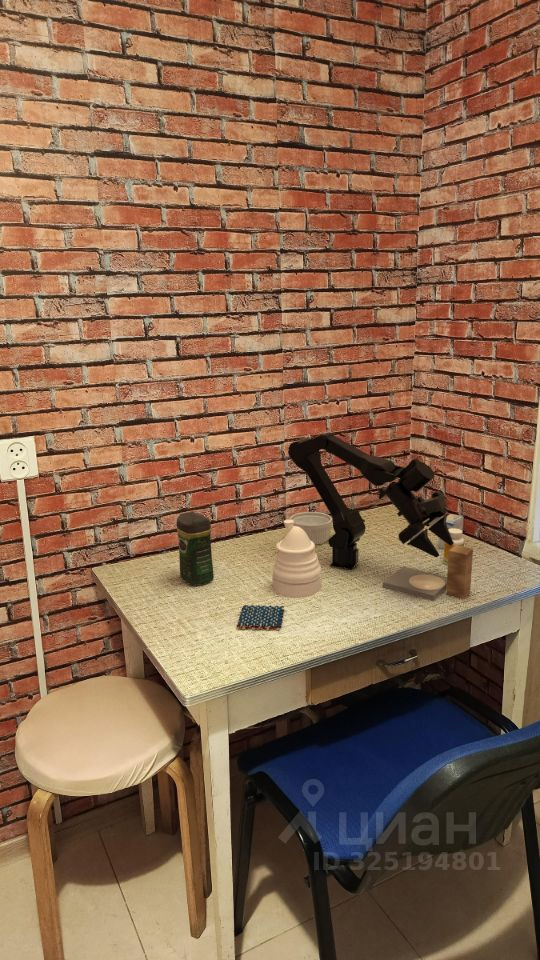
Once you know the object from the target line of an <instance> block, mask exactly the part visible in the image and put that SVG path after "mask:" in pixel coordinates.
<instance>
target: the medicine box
mask: <svg viewBox="0 0 540 960" xmlns="http://www.w3.org/2000/svg"><path fill="white" fill-rule="evenodd" d="M446 525H447V528H448V529H451V528H456V529H460V530H462V534H463V533H464V532H463V530H464V516H463V515H458V514H455V513H454V514H453V513H449V514H448V516H447V520H446ZM438 538H439V537H438ZM438 548H439V549H441V550H444V541H443V540H442V539H440V538H439V539H438Z"/></svg>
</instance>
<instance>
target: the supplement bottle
mask: <svg viewBox="0 0 540 960" xmlns="http://www.w3.org/2000/svg"><path fill="white" fill-rule="evenodd" d="M448 530H449V533H450V535H451V537H452V540H453V542H454V544H453V545H451V546H450V545H448V544H447V543H446V542H444V549H443V560H442V562H443V563H444V564H445V565H446V566H448V553H449V550H450V549H451V548H453V547H454V546H455V545H458V546H463V547H465V539H464V538H463V533H462V530H460V529H456V528H451V529H448Z"/></svg>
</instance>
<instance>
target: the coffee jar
mask: <svg viewBox="0 0 540 960" xmlns="http://www.w3.org/2000/svg"><path fill="white" fill-rule="evenodd" d="M176 532H177V537H178V551H179V552H178V553H179V559H178V560H179V577H180V579H182V581H183V582H184V583H187V584H188V585H189V586H197V585H198V586H199V585H200V586H202V585H206V584H209V583H210V582H212V581H213V580H214V578H215V577H214V574H215V573H214V564H213V555H212V554H213V553H212V552H213V551H212V541H211V539H212V538H211V536H212V535H211V533H212V526H211V520H210V518H209V517H207V516H204V515H202V514H200V513H198V512H195V511H193V510H192V511H188V512H183V513H180V514H179V515H178V516H177V519H176Z"/></svg>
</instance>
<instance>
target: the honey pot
mask: <svg viewBox="0 0 540 960" xmlns="http://www.w3.org/2000/svg"><path fill="white" fill-rule="evenodd" d="M293 524H294V521H293V520H290V519H284V520H283V525H284V527H285V528H286V529H288V531H287V532H286V534H285V535H284V538H283V539H282V540H280V541H278V542H277V543H276V550H277V554H276V556H275V560H274V564H273V566H272V570H271V571H272V589H273V590H274V592H275V593H277V594H279V595H281V596H283V597H288V598H305V597H310V596H313V595H315V594H317V593H319V592H320V591H321V590H322V586H323V585H322V584H323V583H322V582H323V581H322V577H323V576H322V566H321V564H320V562H319V561H320V560H319V558H318V554H317V553H316V551H315V548H316V545H315V544H314V543H313V542H312V541H310V539H309V537H308V536H307V534H306V533H305V531H304V530H303V529H302V528H300V527H298V526H293Z"/></svg>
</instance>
